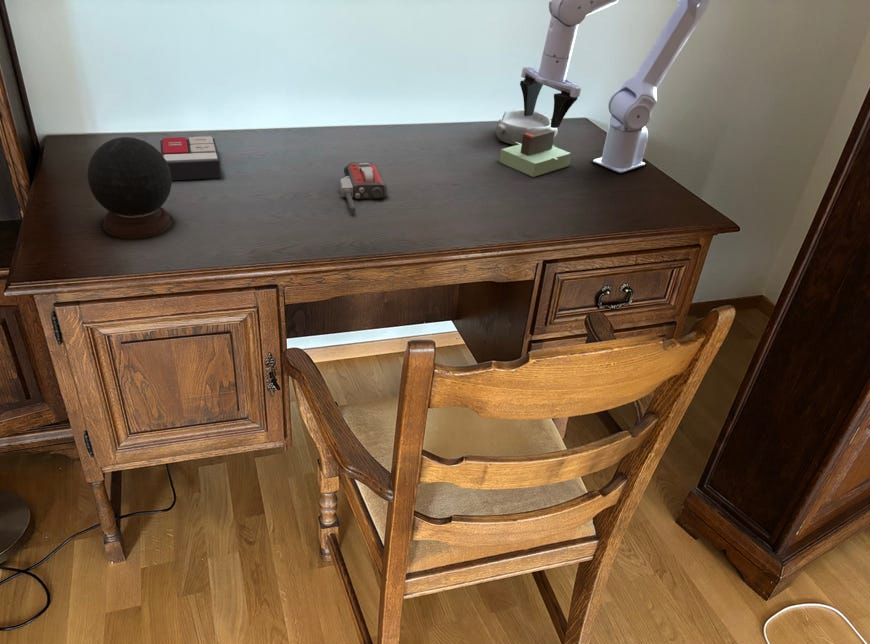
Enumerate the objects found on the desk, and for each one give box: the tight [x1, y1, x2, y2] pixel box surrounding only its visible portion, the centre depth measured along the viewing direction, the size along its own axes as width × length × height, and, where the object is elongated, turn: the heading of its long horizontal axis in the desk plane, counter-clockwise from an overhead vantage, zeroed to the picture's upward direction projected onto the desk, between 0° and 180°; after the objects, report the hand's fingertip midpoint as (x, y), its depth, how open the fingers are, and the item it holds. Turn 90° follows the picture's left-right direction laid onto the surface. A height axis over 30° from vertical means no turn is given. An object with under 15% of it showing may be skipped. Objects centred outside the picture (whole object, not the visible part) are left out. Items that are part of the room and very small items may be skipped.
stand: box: [499, 142, 572, 178], centre depth 165 cm, size 12×12×3 cm
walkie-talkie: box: [339, 161, 387, 212], centre depth 145 cm, size 9×4×20 cm
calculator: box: [159, 135, 223, 181], centre depth 151 cm, size 11×4×15 cm
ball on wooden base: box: [87, 136, 173, 240], centre depth 125 cm, size 13×13×15 cm
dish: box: [495, 109, 558, 146], centre depth 178 cm, size 14×14×5 cm
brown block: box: [521, 129, 555, 156], centre depth 163 cm, size 8×2×4 cm, turn 131°
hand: (541, 121), depth 160 cm, fingers open, 7 cm apart
